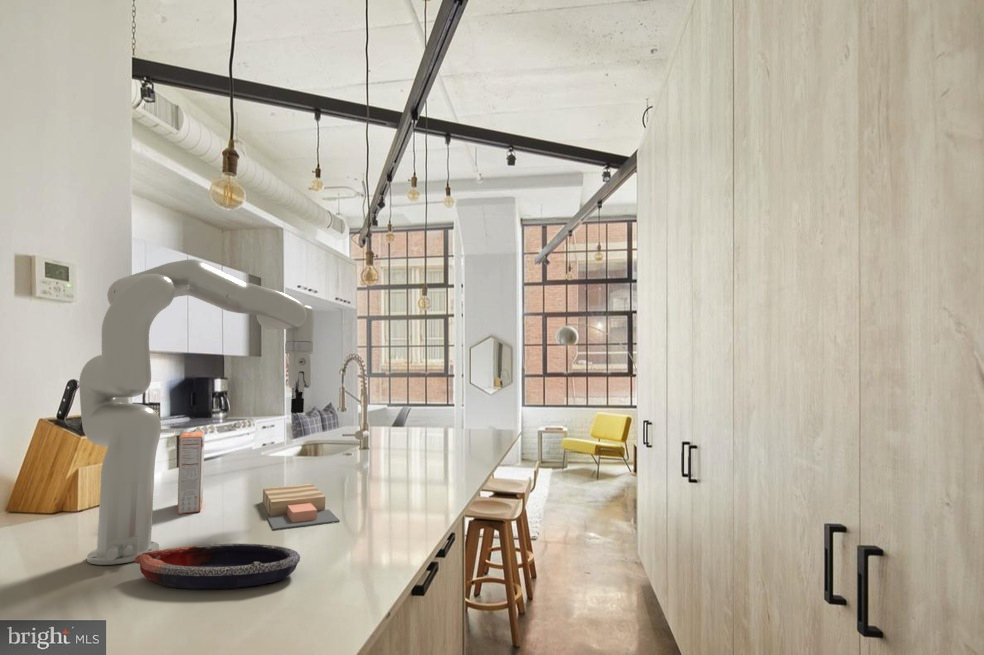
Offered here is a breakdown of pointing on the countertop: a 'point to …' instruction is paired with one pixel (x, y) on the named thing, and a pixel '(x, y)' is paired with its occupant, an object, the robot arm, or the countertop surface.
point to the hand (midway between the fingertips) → (297, 412)
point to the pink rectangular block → (301, 512)
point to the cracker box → (190, 472)
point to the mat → (286, 522)
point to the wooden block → (291, 498)
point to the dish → (218, 565)
